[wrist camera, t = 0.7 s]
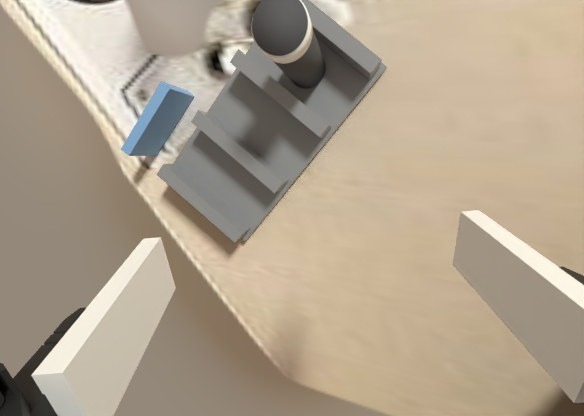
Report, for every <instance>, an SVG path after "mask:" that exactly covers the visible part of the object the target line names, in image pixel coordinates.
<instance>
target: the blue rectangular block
mask: <svg viewBox="0 0 584 416" xmlns="http://www.w3.org/2000/svg"><path fill="white" fill-rule="evenodd" d="M193 98H194V96H193V95H192V94H190V93H189V92H188V91H187V90H184V89H181V88H178V87H176V86H173V85H170V84H167V83H164V82H162V81H161V83H160V84H159V86H158V88H157V90H156V91H155V93H154V95H153V96H152V98H151V100H150V101H149V103H148V105H147V106H146V108H145V110H144V111H143V113H142V115H141V116H140V118H139V120H138V121H137V123H136V125H135V126H134V128H133V130H132V132H131V133H130V135H129V137H128V138H127V140H126V142H125V143H124V145H123V147H122V148H121V149H122V150H123V151H124V152H125V153H126V154H127V155H129V156H147V155H157V154H158V153H159V151H160V150H161V148H162V146H163V145H164V143H165V142H166V140H167V139H168V137H169V135H170V134H171V132H172V131H173V129H174V128H175V126H176V124H177V123H178V121H179V120H180V118H181V117H182V115H183V114H184V112H185V110H186V109H187V107H188V106H189V104H190V103H191V101H192V99H193Z"/></svg>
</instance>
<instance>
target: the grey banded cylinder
mask: <svg viewBox="0 0 584 416" xmlns="http://www.w3.org/2000/svg"><path fill="white" fill-rule="evenodd" d="M251 29H252V36H253V39H254V41H255V43H256V45H257V47H258V48H259V49H260V50H261V51H262V52H263V53H264V54H265V55H266V56H267V57H268V58H269V59H270V60H272V61H273V62H274V63H275V64H276V65H277V66H278V67H279V68H280V69H281V70H282V71H283V72H284V73H285V74H286V75H287V76H288V78H289V79H290V80H291V81H292V82H293V83H294V84H295V85H297V86H298V87H300V88H305V89H307V88H312V87H314V86H316V85H318V84H319V83H320V82H321V80H322V79H323V77H324V75H325V70H326V64H325V60H324V58H323V55H322V52H321V50H320V47H319V44H318V42H317V39H316V37H315V34H314V31H313V28H312V23H311V19H310V17H309V14H308V11H307V9H306V7H305V5H304V3H303V2H302V1H301V0H262V2H261V3H260V4H259V5H258V7H257V8H256V10H255V12H254V15H253V18H252V25H251Z"/></svg>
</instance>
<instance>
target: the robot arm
mask: <svg viewBox="0 0 584 416" xmlns="http://www.w3.org/2000/svg"><path fill="white" fill-rule="evenodd" d="M453 266H454V267H455V268H456V269H457V270H458V271H459V272H460V274H461V275H462V276H463V277H464V278H465V279H466V280H467V282H468V283H469V284H470V285H471V286H472V287H473V288H474V290H475V291H476V292H477V293H478V294H479V295H480V296H481V298H482V299H483V300H484V301H485V302H486V303H487V304H488V306H489V307H490V308H491V309H492V310H493V311H494V312H495V314H496V315H497V316H498V317H499V318H500V319H501V320H502V322H503V323H504V324H505V325H506V326H507V327H508V328H509V330H510V331H511V332H512V333H513V334H514V335H515V336H516V337H517V339H518V340H519V341H520V342H521V343H522V344H523V345H524V347H525V348H526V349H527V350H528V351H529V352H530V353H531V355H532V356H533V357H534V358H535V359H536V360H537V361H538V363H539V364H540V365H541V366H542V367H543V368H544V369H545V371H546V372H547V373H548V374H549V375H550V376H551V377H552V379H553V380H554V381H555V382H556V383H557V384H558V385H559V387H560V388H561V389H562V390H563V391H564V392H565V393H566V395H567V396H568V397H569V398H570V399H571V400H572V401H573V403H583V402H584V276H582V275H580V274H578V273H576V272H574V271H571V270H569V269H567V268H565V267H558V266H556V265H555V264H553V263H552V262H551V261H549V260H548V259H546V258H545V257H544V256H542V255H541V254H539V253H538V252H536V251H535V250H534V249H532V248H531V247H529V246H528V245H527V244H525V243H524V242H522V241H521V240H520V239H518V238H517V237H515V236H514V235H513V234H511V233H510V232H508V231H507V230H506V229H504V228H503V227H501V226H500V225H499V224H497V223H496V222H494V221H493V220H492V219H490V218H489V217H487V216H486V215H485V214H483V213H482V212H480V211H479V210H476V211H465V212H461V215H460V222H459V228H458V234H457V241H456V247H455V254H454V260H453ZM174 290H175V285H174V281H173V277H172V274H171V271H170V267H169V263H168V260H167V257H166V253H165V250H164V246H163V243H162V240H161V237H160V238H149V239H143V240H142V241H141V243H140V244H139V245H138V246H137V247H136V249H135V250H134V251H133V252H132V254H131V255H130V256H129V257H128V258H127V260H126V261H125V262H124V263H123V264H122V266H121V267H120V268H119V269H118V271H117V272H116V273H115V274H114V275H113V277H112V278H111V279H110V280H109V282H108V283H107V284H106V285H105V286H104V288H103V289H102V290H101V291H100V292H99V294H98V295H97V296H96V297H95V298H94V300H93V301H92V302H91V303H90V305H89V306H88V307H87V308H80V309H78V310H77V311H75V312H74V313H73V314H71V315H70V316H69V317H67V318H66V319H65V320H64V321H63V322H62V323H61V324H60V325H59V327H58V328H57V329H56V330H55V331H54V334H53V335H51V336H50V337H49V338H48V339H47V340H46V342H45V343H44V345H43V346H41V347H40V348H39V350H38V351H37V352H36V353H35V354H34V355H33V356H32V358H31V359H30V360H29V361H28V362H27V363H26V364H25V366H24V367H23V368H22V369H21V370H20V371H19V372H18V374H17V375H16V376H15V377H14V378H12V377H11V376H10V374H9V372H8V371H7V369H6V368H5V366H4V365H3V364H2V363H0V416H113V415H114V413H115V411H116V409H117V407H118V405H119V403H120V401H121V399H122V397H123V395H124V392H125V390H126V388H127V386H128V384H129V382H130V380H131V378H132V376H133V374H134V372H135V370H136V368H137V366H138V364H139V362H140V360H141V358H142V356H143V353H144V351H145V350H146V347H147V346H148V343H149V342H150V339H151V337H152V335H153V333H154V331H155V329H156V327H157V325H158V323H159V321H160V319H161V317H162V315H163V313H164V311H165V309H166V307H167V305H168V303H169V301H170V299H171V297H172V294H173V292H174Z"/></svg>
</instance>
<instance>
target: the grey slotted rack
mask: <svg viewBox="0 0 584 416" xmlns="http://www.w3.org/2000/svg"><path fill="white" fill-rule="evenodd" d="M301 1H302V2H303V3H304V5H305V7H306V9H307V11H308V14H309V17H310V19H311V23H312V28H313V31H314V34H315V37H316V39H317V42H318V44H319V47H320V50H321V52H322V55H323V58H324V60H325V64H326V70H325V75H324V77H323V79H322V80H321V82H320V83H319V84H318V85H316V86H314V87H312V88H307V89H305V88H300V87H298V86H297V85H295V84H294V83H293V82H292V81H291V80H290V79H289V78H288V76H287V75H286V74H285V73H284V72H283V71H282V70H281V69H280V68H279V67H278V66H277V65H276V64H275V63H274V62H273V61H272V60H270V59H269V58H268V57H267V56H266V55H265V54H264V53H263V52H262V51H261V50H260V49H259V48H258V47H257V45H256V43H255V41H254V43H253V44H252V46H251V47H250V49H249V50H248V52H247V53H246V55H245V54H243V53H242V52H241V51H240V50H239V49H238V51H237V52H236V54H235V55H234V57H233V58H232V60H231V61H230V63H232V64H233V65H234V66H235V67H236V70H235V71H234V73H233V74H232V76H231V77H230V79H229V80H228V82H227V83H226V85H225V86H224V88H223V89H222V91H221V92H220V94H219V95H218V97H217V99H216V100H215V102H214V103H213V105H212V106H211V108H210V109H209V111H208V112H203V111H198V112H197V114H196V115H195V117H194V118H193V120H192V121H191V122H192V123H193V124H194V125H196V126H197V129H196V130H195V132H194V133H193V135H192V136H191V138H190V139H189V141H188V142H187V144H186V145H185V147H184V148H183V150H182V151H181V153H180V154H179V156H178V157H177V159H176V160H175V162H174V163H173V164H164V165H163V166H162V167H161V169H160V170H159V172H158V173H157V175H158V176H159V177H160V178H161V179H162V180H163V181H165V182H166V183H167V184H168V185H169V186H170V187H171V188H173V189H174V190H175V191H176V192H177V193H178V194H179V195H181V196H182V197H183V198H184V199H185V200H186V201H187V202H189V203H190V204H191V205H192V206H193V207H194V208H195V209H197V210H198V211H199V212H200V213H201V214H202V215H203V216H205V217H206V218H207V219H208V220H209V221H210V222H211V223H213V224H214V225H215V226H216V227H217V228H218V229H219V230H221V231H222V232H223V233H224V234H225V235H226V236H227V237H229V238H230V239H231V240H232V241H233V242H234V243H235V242H236V241H238V240H239V239H242V240H244V241H246V240H247V239H248V238H249V237H250V236H251V234H252V233H253V232H254V231H255V230H256V228H257V227H258V226H259V225H260V223H261V222H262V221H263V220H264V219H265V217H266V216H267V215H268V214H269V212H270V211H271V210H272V209H273V207H274V206H275V205H276V204H277V203H278V201H279V200H280V199H281V198H282V196H283V195H284V194H285V193H286V191H287V190H288V189H289V188H290V187H291V185H292V184H293V183H294V182H295V180H296V179H297V178H298V177H299V175H300V174H301V173H302V172H303V171H304V169H305V168H306V167H307V166H308V164H309V163H310V162H311V161H312V160H313V158H314V157H315V156H316V155H317V153H318V152H319V151H320V150H321V148H322V147H323V146H324V145H325V144H326V142H327V141H328V140H329V139H330V137H331V136H332V135H333V134H334V132H335V131H336V130H337V129H338V128H339V126H340V125H341V124H342V123H343V121H344V120H345V119H346V118H347V117H348V115H349V114H350V113H351V112H352V110H353V109H354V108H355V107H356V105H357V104H358V103H359V102H360V101H361V99H362V98H363V97H364V96H365V94H366V93H367V92H368V91H369V89H370V88H371V87H372V86H373V85H374V83H375V82H376V81H377V80H378V78H379V77H380V76H381V75H382V74H383V72H384V71H385V70H386V66H385V65H384V64H383V63H381V59H380V58H379V57H378V56H377V55H375V54H374V53H373V52H372V51H370V50H369V49H368V48H367V47H366V46H364V45H363V44H362V43H361V42H359V41H358V40H357V39H356V38H354V37H353V36H352V35H351V34H350V33H348V32H347V31H346V30H345V29H343V28H342V27H341V26H340V25H338V24H337V23H336V22H335V21H334V20H332V19H331V18H330V17H329V16H327V15H326V14H325V13H324V12H323V11H321V10H320V9H319V8H318V7H316V6H315V5H314V4H313V3H311V2H310V1H309V0H301Z"/></svg>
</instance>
